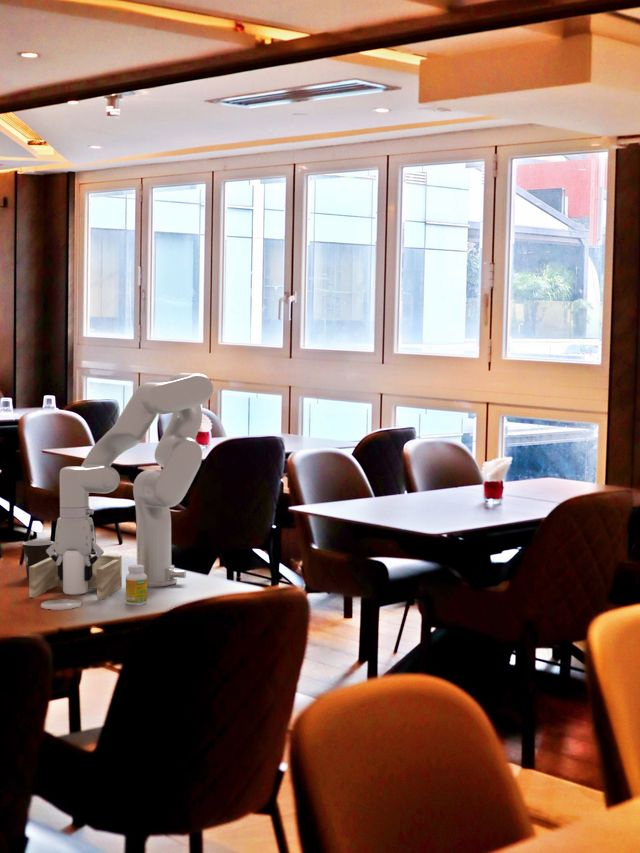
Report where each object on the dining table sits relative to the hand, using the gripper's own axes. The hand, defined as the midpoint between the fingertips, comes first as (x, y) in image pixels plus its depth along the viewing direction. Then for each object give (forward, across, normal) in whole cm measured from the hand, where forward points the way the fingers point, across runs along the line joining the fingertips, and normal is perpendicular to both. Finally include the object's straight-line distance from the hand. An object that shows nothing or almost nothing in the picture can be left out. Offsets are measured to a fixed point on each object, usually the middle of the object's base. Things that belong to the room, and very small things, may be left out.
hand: (75, 579), depth 324 cm
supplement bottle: (+4, -20, +10) cm, 23 cm away
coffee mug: (+4, +18, -20) cm, 27 cm away
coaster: (+4, -2, +16) cm, 17 cm away
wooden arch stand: (+4, 0, 0) cm, 4 cm away
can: (+4, 0, 0) cm, 4 cm away
